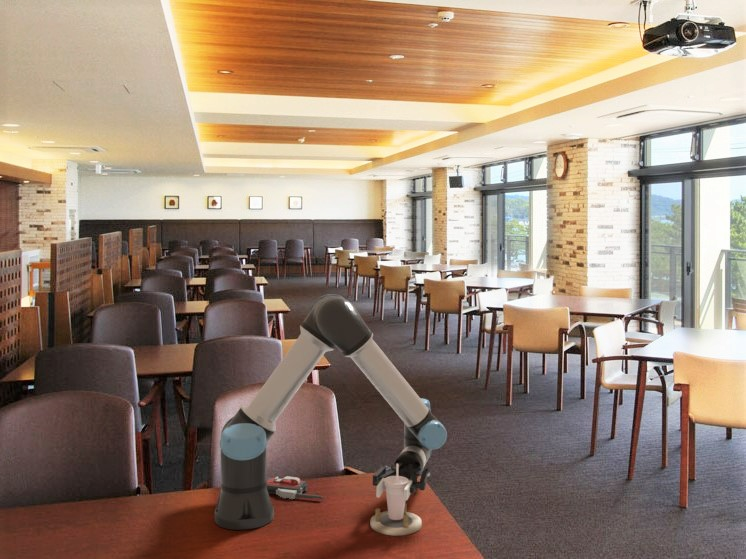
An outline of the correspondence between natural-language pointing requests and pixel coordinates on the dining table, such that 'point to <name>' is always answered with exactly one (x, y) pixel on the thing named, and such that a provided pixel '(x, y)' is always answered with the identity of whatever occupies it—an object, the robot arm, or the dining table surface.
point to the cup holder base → (395, 523)
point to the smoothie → (395, 495)
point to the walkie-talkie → (289, 488)
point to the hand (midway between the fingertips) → (391, 493)
